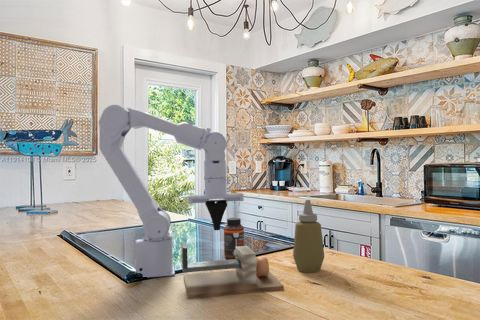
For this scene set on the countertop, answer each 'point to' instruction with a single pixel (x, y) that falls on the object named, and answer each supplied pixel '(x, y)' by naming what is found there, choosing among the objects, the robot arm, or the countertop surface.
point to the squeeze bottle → (308, 241)
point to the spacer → (262, 267)
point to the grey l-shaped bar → (206, 263)
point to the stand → (231, 279)
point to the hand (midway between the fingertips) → (216, 229)
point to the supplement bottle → (233, 237)
